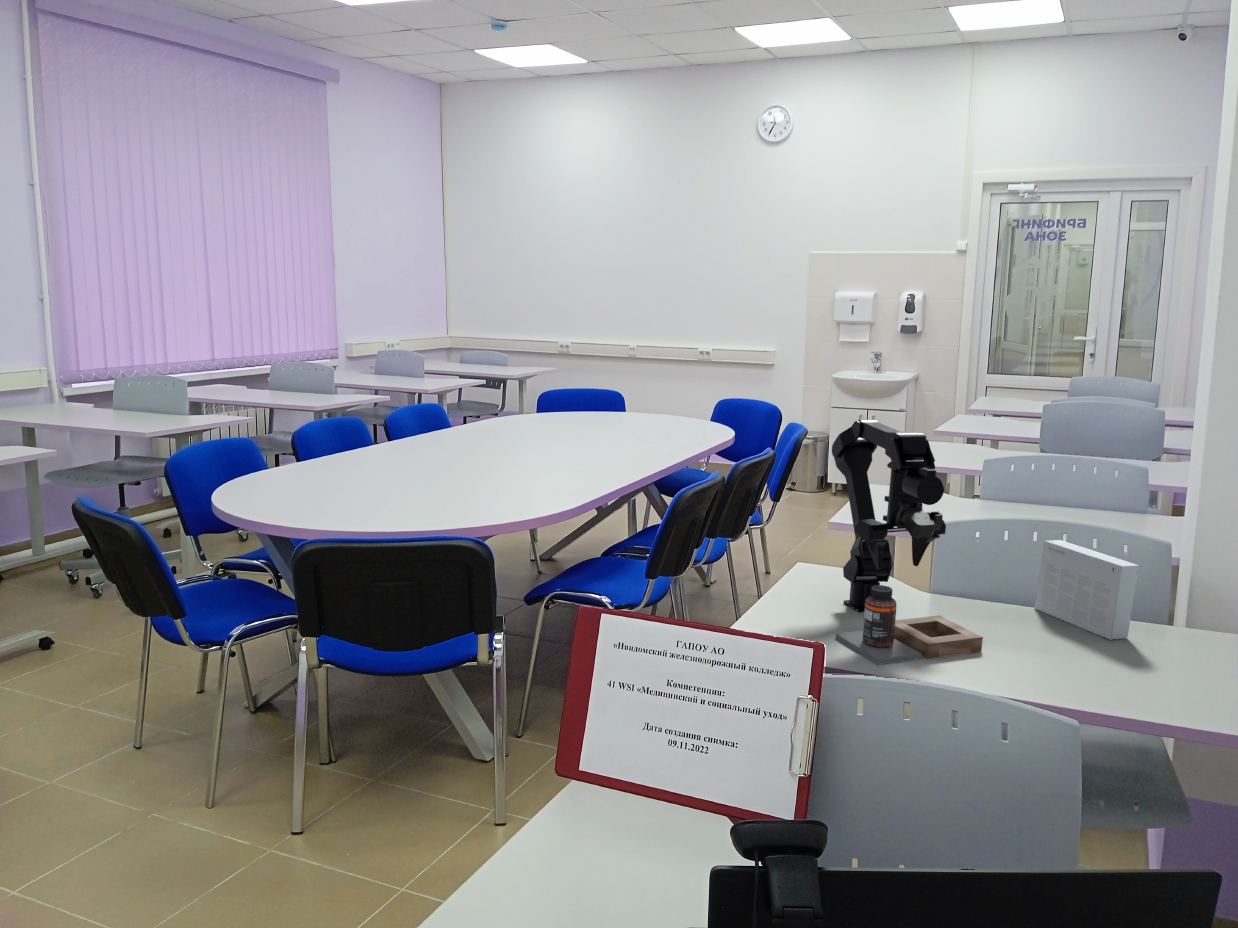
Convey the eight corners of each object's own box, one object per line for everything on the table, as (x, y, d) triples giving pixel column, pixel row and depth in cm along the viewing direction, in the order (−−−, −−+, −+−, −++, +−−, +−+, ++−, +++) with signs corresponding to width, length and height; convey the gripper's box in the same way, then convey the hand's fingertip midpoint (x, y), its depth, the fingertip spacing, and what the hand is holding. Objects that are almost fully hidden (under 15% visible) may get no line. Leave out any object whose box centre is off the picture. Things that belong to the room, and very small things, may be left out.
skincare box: (1130, 638, 202) (1140, 564, 199) (1110, 641, 200) (1120, 566, 197) (1051, 606, 221) (1059, 538, 218) (1033, 608, 219) (1041, 539, 216)
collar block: (885, 635, 199) (887, 621, 199) (937, 628, 204) (939, 615, 204) (926, 658, 188) (928, 643, 187) (981, 651, 192) (982, 636, 192)
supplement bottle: (888, 637, 195) (893, 583, 193) (897, 649, 189) (902, 593, 187) (858, 637, 195) (863, 582, 193) (866, 648, 189) (871, 592, 187)
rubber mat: (835, 638, 197) (835, 633, 197) (877, 633, 200) (877, 628, 200) (877, 664, 184) (877, 659, 184) (920, 658, 188) (921, 653, 187)
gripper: (889, 505, 188) (882, 582, 191) (967, 500, 195) (960, 575, 198) (855, 492, 198) (850, 566, 201) (931, 488, 205) (924, 560, 208)
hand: (897, 567), depth 202 cm, fingers open, 9 cm apart
